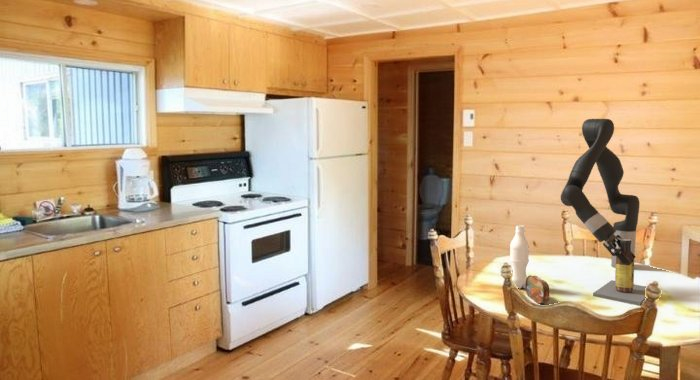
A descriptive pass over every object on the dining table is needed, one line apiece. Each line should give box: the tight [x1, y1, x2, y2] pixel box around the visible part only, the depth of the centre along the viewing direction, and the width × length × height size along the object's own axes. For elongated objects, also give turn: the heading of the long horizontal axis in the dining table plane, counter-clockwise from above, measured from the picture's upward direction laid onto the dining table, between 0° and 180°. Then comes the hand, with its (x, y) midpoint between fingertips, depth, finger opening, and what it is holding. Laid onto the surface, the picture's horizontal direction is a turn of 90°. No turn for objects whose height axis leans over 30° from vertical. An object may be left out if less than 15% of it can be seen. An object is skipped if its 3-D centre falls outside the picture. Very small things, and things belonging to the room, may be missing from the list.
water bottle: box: [509, 224, 530, 290], centre depth 205 cm, size 7×7×25 cm
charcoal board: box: [592, 280, 647, 307], centre depth 197 cm, size 22×16×1 cm
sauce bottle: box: [614, 239, 635, 292], centre depth 196 cm, size 7×6×20 cm
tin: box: [525, 274, 551, 304], centre depth 190 cm, size 15×3×8 cm, turn 5°
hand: (630, 260), depth 194 cm, fingers open, 8 cm apart
